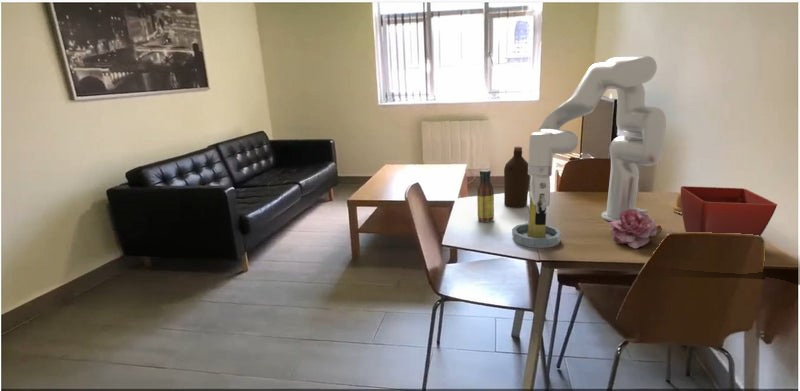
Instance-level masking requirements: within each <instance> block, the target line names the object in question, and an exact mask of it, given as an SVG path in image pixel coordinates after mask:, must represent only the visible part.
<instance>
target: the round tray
mask: <svg viewBox="0 0 800 391" xmlns="http://www.w3.org/2000/svg"><path fill="white" fill-rule="evenodd" d="M528 224H529V222H528V223H521V224H517V225H515V226H514V227H512V229H511V236H512V240H513V241H514V243H516V244H518V245H521V246H522V247H527V248H533V249H534V248H535V249H548V248H553V247H557V246H558V245H559V244H560V243H561V242H560V241H561V238H562V232H561V231H560V230H559V228H557V227H554V226H551V225H548V224H546V238H532V237H528V236H527V234H528Z"/></svg>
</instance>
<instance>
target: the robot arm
mask: <svg viewBox="0 0 800 391" xmlns="http://www.w3.org/2000/svg"><path fill="white" fill-rule="evenodd" d="M657 66H658V65H657V61H656V60H655V58H653V57H651V56H650V55H634V56H633V55H632V56H629V55H628V56H615V57H611V58H609V59H607V60H606V61H604V62H603V61H602V62H596V63H594V64H592V65H590V66H589V68H588V69H587V70H586V72H585V73H584V75H583V76H582V78H581V80H580V82H579V83H578V85H577V86H576V88H575V90H574V91H573V92H572V94H571V96H570V97H569V98H568V99H567V100H566V101H564V102H563V103H561V104H560V105H558V107H556V108H555V109H553V110H552V111H551V112H550V113H549V114H548V115H547V116H546V117H545V118H544V120H543V121H542V123H541V124H540V126H539V128H538V130H537V131H534V132H532V133H531V134H530V136H529V145H528V161H527V163H528V175H530V178H529V187H528V196H529V199H530V196H531V197H532V203H533V204H534V205H535V206H536V209H537V213H536V216H535V224H536V225H545V223H546V224H547V207H549V206H550V204H551V203H550V202H551V179H550V177H551V176H552V174H553V162H554V161H553V160H554V154H557V155H558V154H561V155H565V154H566V155H567V154H569V153H572V152H574V151H575V150H576V149H577V147H578V145H579V138H578V136H577V135H576V133H574V132H573V131H570V130H564V129H561V128H562V127H563V126H564V125H565V124H567V123H568V122H570V121H572V120H575V119H578V118H580V117H581V118H582V117H584V116H586V115H589V114H591V113H593V112H594V110H595V109H596V107H597V106H598V104H599V102H600V100H601V99H602V98H603V96H604V94H605V92H606V91H607V90H616V93H617V103H616V104H617V105H616V119H615V120H616V121H615V122H616V127H617V129H618V130H619V131H621V132H625V133H630V134H637V135H642V136H641V137H640V136H637V135H636V136H634V135H619V136H616V137H615V138H613V140H612V141H611V142H610V146H609V156H610V175H609V185H608V195H607V201H606V210H604V211H602V213H601V218H602V219H603V220H606V221H608V222H612V221H620V213H622V211H625V210H628V209H634V210H636V211H638V212H639V213H644V214H646V215H649V210H648V209H642V208H640V207H639V208H637V207H636V202H637V195H638V187H639V178H640V172H639V168H638V165H641V166H647V167H648V166H649V167H651V166H655V165H657V164H658V163H660V161H661V160H662V157H663V152H664V146H665V135H666V124H667V118H666V114H665V112H664V111H663V110H662V109H661V108H659V107H656V106H646V105H645V99H646V98H645V96H646V95H645V94H646V92H645V90H646V89H645V87H644V85H643V84H646V83H648V82H649V81H651V80H652V79H653V77H655V75H656V72H657V68H658V67H657ZM538 203H541V204H538ZM539 207H540V208H539ZM528 208H529V210H528V211H529V212H530V205H529V207H528ZM529 212H528V213H529Z"/></svg>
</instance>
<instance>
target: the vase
mask: <svg viewBox="0 0 800 391" xmlns="http://www.w3.org/2000/svg"><path fill="white" fill-rule="evenodd" d="M538 204H541V203H538ZM529 206H530V212H528V215H529V217H528V223H529V224H528V234H527V236H528V237H532V238H546V225H547V222H546V223H545V225H536V224H535V216H536V213H537V209H536V206H535V205H534V204H533V203H532V197H531V196H530V198H529ZM539 208H540V207H539Z"/></svg>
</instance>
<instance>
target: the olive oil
mask: <svg viewBox="0 0 800 391" xmlns="http://www.w3.org/2000/svg"><path fill="white" fill-rule="evenodd" d="M503 174H504V175H503V177H504V180H503V181H504V183H503V185H504V187H503V188H504V189H503V190H504V194H503V195H504V197H503V198H504V199H503V200H504V201H503V202H504V206H506V207H508V208H511V209H512V208H514V209H523V208H525V207H527V205H528V196H529V188H530V175H528V161H527V160H526V159H525V158H524V156H523V147H522V146H515V147H514V149H513V156H512V157H511V158H510V159H509V160H508V161H507V162H506V163H505V166H504V169H503Z"/></svg>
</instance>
